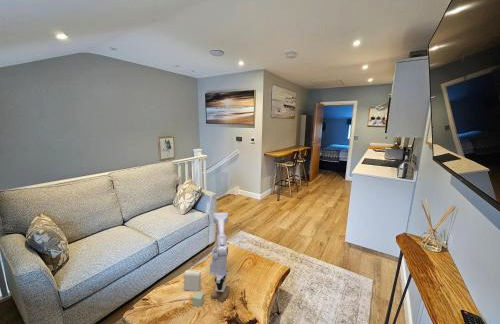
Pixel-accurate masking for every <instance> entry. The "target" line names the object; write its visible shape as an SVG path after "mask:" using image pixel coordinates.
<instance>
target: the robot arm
mask: <svg viewBox="0 0 500 324" xmlns="http://www.w3.org/2000/svg"><path fill="white" fill-rule="evenodd" d="M228 220H229V213H228V212H227V211H225V212H213V223H214V224H216V241H215V242H216V245H214V247H213V248H212V249H211V250H212V251H211V259H210V262H209V274H210V275H216V277H215V278H214V282H215V285H216V284H217V288H218V290H221V289H222V285H223V282H224V279H222V278H225V279H226V278H227V277H226V276H228V274H229V272H228V270H227V263H228V262H227V261H228V259H227V258H228V255H229V247H228V242H227V240H228V239H227V234H225V225H226V224H227V222H228Z"/></svg>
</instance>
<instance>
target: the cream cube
mask: <svg viewBox="0 0 500 324" xmlns="http://www.w3.org/2000/svg"><path fill="white" fill-rule="evenodd" d="M222 279H224V282H223V285H222V289H221V290H218V288H217V284H216V283H215V285H216V288H215V291H219V292H224V290H225V287H226V286H227V285H226V284H227V278H226V277H225V278H222Z"/></svg>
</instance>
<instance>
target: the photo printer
mask: <svg viewBox="0 0 500 324" xmlns="http://www.w3.org/2000/svg"><path fill="white" fill-rule="evenodd" d="M201 273H202V271H200V270H198V269H186V270H185V271H184V277H183V289H184V291H192V292H193V291H195V292H196V291H197V292H200V290H201V287H202V286H201V285H202V279H201V277H202V274H201Z"/></svg>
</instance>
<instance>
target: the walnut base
mask: <svg viewBox="0 0 500 324" xmlns="http://www.w3.org/2000/svg"><path fill="white" fill-rule="evenodd" d="M215 288H216V284H215V285H214V287H213V290H212V291H211V294H210V300H211V299H217V300H222V301H221V302H223V301H226V299H228V297H227V296H229V293H230V291H231V287H230V285H226V287H225V290H224V292H219V291H215Z"/></svg>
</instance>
